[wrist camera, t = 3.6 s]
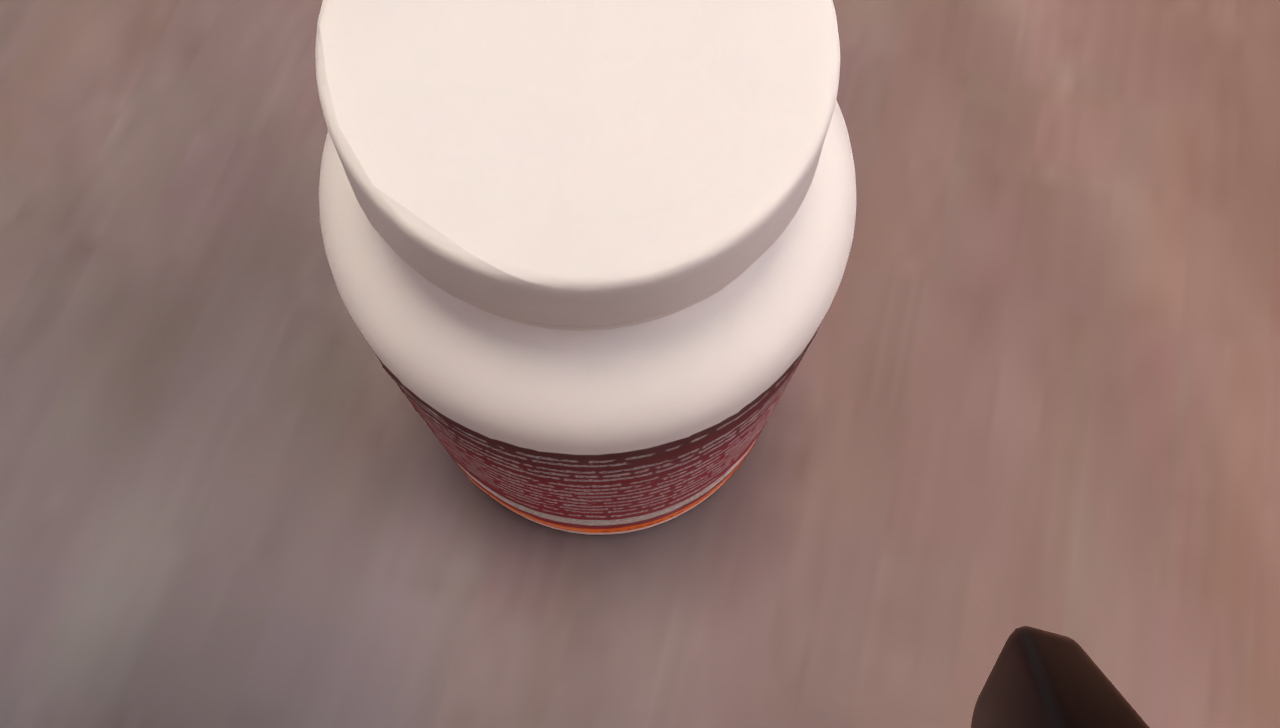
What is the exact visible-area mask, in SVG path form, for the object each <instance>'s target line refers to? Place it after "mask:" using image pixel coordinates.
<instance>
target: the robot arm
mask: <svg viewBox="0 0 1280 728" xmlns="http://www.w3.org/2000/svg"><path fill="white" fill-rule="evenodd" d="M971 728H1149V727H1148V725H1147V724H1146V723H1145V722H1144V721H1143V719H1142V718H1141V717H1140V716H1139V715H1138V714H1137V712H1136V711H1135V710H1134V709H1133V708H1132V707H1131V705H1130V704H1129V703H1128V702H1127V701H1126V700H1125V698H1124V697H1123V696H1122V695H1121V694H1120V692H1119V691H1118V690H1117V689H1116V688H1115V687H1114V685H1113V684H1112V683H1111V682H1110V681H1109V680H1108V678H1107V677H1106V676H1105V675H1104V674H1103V672H1102V671H1101V670H1100V669H1099V668H1098V667H1097V665H1096V664H1095V663H1094V662H1093V661H1092V660H1091V658H1090V657H1089V656H1088V655H1087V654H1086V652H1085V651H1084V650H1083V649H1082V648H1081V647H1080V646H1079V645H1078V644H1077V643H1076V642H1075V641H1074V640H1072V639H1071V638H1069V637H1066V636H1062V635H1059V634H1055V633H1051V632H1047V631H1043V630H1040V629H1036V628H1032V627H1028V626H1023V627H1020V628H1017V629H1016V630H1015V631H1014V632H1013V633H1012V634H1011V635H1010V636H1009V638H1008V640H1007V641H1006V643H1005V645H1004V647H1003V649H1002V651H1001V653H1000V655H999V657H998V659H997V661H996V663H995V665H994V667H993V669H992V671H991V673H990V675H989V677H988V679H987V681H986V683H985V685H984V687H983V689H982V691H981V693H980V695H979V697H978V700H977V702H976V705H975V708H974V713H973V717H972V724H971Z"/></svg>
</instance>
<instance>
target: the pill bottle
mask: <svg viewBox="0 0 1280 728" xmlns="http://www.w3.org/2000/svg"><path fill="white" fill-rule="evenodd" d="M315 62H316V81H317V87H318V92H319V98H320V103H321V108H322V111H323V115H324V118H325V121H326V125H327V128H328V132H327V136H326V140H325V144H324V150H323V155H322V161H321V169H320V182H319V211H320V225H321V231H322V237H323V242H324V247H325V251H326V255H327V259H328V262H329V266H330V269H331V272H332V275H333V278H334V281H335V284H336V287H337V289H338V292H339V294H340V296H341V298H342V300H343V302H344V304H345V306H346V308H347V310H348V312H349V314H350V316H351V318H352V319H353V321H354V322H355V324H356V326H357V327H358V329H359V330H360V332H361V333H362V335H363V336H364V338H365V339H366V341H367V342H368V344H369V345H370V347H371V348H372V350H373V351H374V352H375V354H376V356H377V357H378V359H379V360H380V362H381V364H382V366H383V368H384V369H385V370H386V371H387V372H388V374H389V375H390V376H391V377H392V378H393V379H394V380H395V382H396V383H397V384H398V386H399V387H400V389H401V391H402V392H403V393H404V394H405V395H406V397H407V398H408V399H409V401H410V402H411V403H412V405H413V407H414V408H415V410H416V411H417V412H418V413H419V414H420V415H421V417H422V418H423V419H424V420H425V422H426V423H427V425H428V426H429V427H430V429H431V430H432V431H433V433H434V434H435V435H436V437H437V438H438V439H439V441H440V442H441V443H442V445H443V446H444V447H445V449H446V450H447V451H448V453H449V454H450V455H451V457H452V458H453V460H454V461H455V462H456V464H457V465H458V466H459V467H460V469H461V470H462V471H463V472H464V473H465V474H466V475H467V477H468V478H469V479H470V480H471V481H472V482H473V483H474V484H475V485H477V486H478V487H479V488H480V489H481V490H482V491H484V492H485V493H487V494H488V495H489V496H491V497H492V498H493V499H495V500H496V501H498V502H499V503H500V504H502V505H503V506H505V507H507V508H508V509H510V510H512V511H513V512H515V513H517V514H519V515H521V516H523V517H525V518H527V519H529V520H531V521H533V522H536V523H539V524H541V525H544V526H547V527H550V528H553V529H557V530H562V531H567V532H572V533H580V534H589V535H606V534H620V533H627V532H633V531H638V530H643V529H646V528H649V527H653V526H656V525H658V524H661V523H664V522H667V521H669V520H671V519H673V518H676V517H678V516H679V515H681V514H683V513H685V512H687V511H688V510H690V509H692V508H693V507H695V506H696V505H698V504H699V503H701V502H702V501H704V500H705V499H706V498H708V497H709V496H710V495H711V494H713V493H714V492H715V491H716V490H717V489H718V488H719V487H720V486H721V485H722V484H724V483H725V482H726V480H727V479H728V478H729V477H730V476H731V475H732V474H733V472H734V471H735V470H736V469H737V468H738V467H739V466H740V464H741V463H742V462H743V460H744V459H745V457H746V456H747V454H748V453H749V452H750V450H751V448H752V447H753V445H754V443H755V442H756V440H757V438H758V436H759V434H760V433H761V431H762V429H763V427H764V425H765V424H766V422H767V420H768V418H769V417H770V415H771V413H772V411H773V409H774V408H775V406H776V404H777V402H778V401H779V399H780V397H781V395H782V393H783V391H784V389H785V388H786V386H787V384H788V382H789V380H790V379H791V377H792V375H793V373H794V372H795V370H796V368H797V366H798V364H799V363H800V361H801V359H802V357H803V355H804V354H805V352H806V350H807V348H808V347H809V345H810V343H811V342H812V340H813V338H814V336H815V335H816V333H817V330H818V328H819V326H820V324H821V322H822V320H823V318H824V316H825V315H826V313H827V311H828V310H829V307H830V305H831V303H832V301H833V299H834V296H835V294H836V292H837V290H838V287H839V285H840V282H841V280H842V277H843V274H844V271H845V267H846V264H847V260H848V257H849V253H850V249H851V245H852V240H853V234H854V225H855V216H856V179H855V167H854V161H853V155H852V149H851V144H850V140H849V136H848V131H847V127H846V124H845V121H844V118H843V115H842V113H841V110H840V108H839V105H838V102H837V100H836V97H837V92H838V86H839V73H840V44H839V34H838V27H837V19H836V12H835V8H834V4H833V0H323V2H322V6H321V10H320V14H319V18H318V23H317V33H316V44H315Z"/></svg>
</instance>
